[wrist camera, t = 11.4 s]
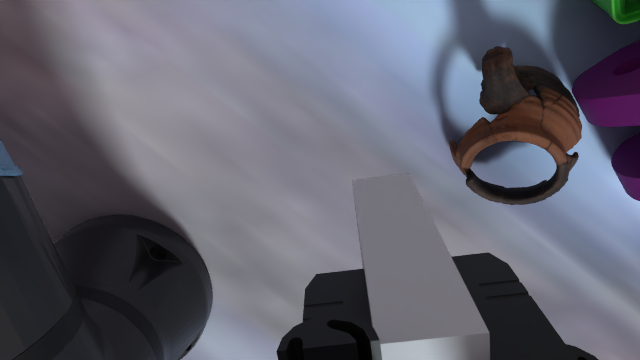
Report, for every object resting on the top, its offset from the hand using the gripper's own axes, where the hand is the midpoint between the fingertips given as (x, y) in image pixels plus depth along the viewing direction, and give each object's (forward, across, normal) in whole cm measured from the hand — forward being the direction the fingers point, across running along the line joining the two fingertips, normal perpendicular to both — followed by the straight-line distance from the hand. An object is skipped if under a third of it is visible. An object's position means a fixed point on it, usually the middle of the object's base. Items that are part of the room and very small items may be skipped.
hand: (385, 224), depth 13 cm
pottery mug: (+27, +12, -4) cm, 30 cm away
